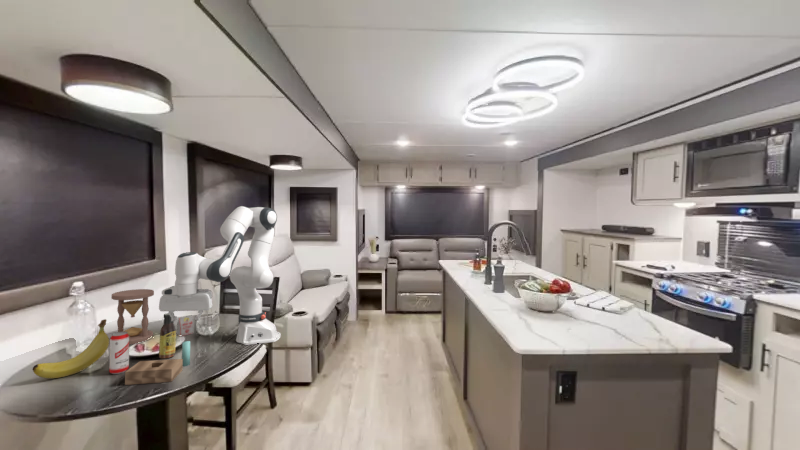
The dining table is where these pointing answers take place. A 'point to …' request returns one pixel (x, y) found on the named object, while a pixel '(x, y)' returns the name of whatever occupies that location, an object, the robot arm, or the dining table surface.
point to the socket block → (154, 371)
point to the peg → (186, 353)
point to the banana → (76, 358)
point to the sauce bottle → (167, 338)
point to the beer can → (119, 353)
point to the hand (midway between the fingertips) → (185, 320)
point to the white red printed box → (185, 325)
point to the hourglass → (134, 312)
